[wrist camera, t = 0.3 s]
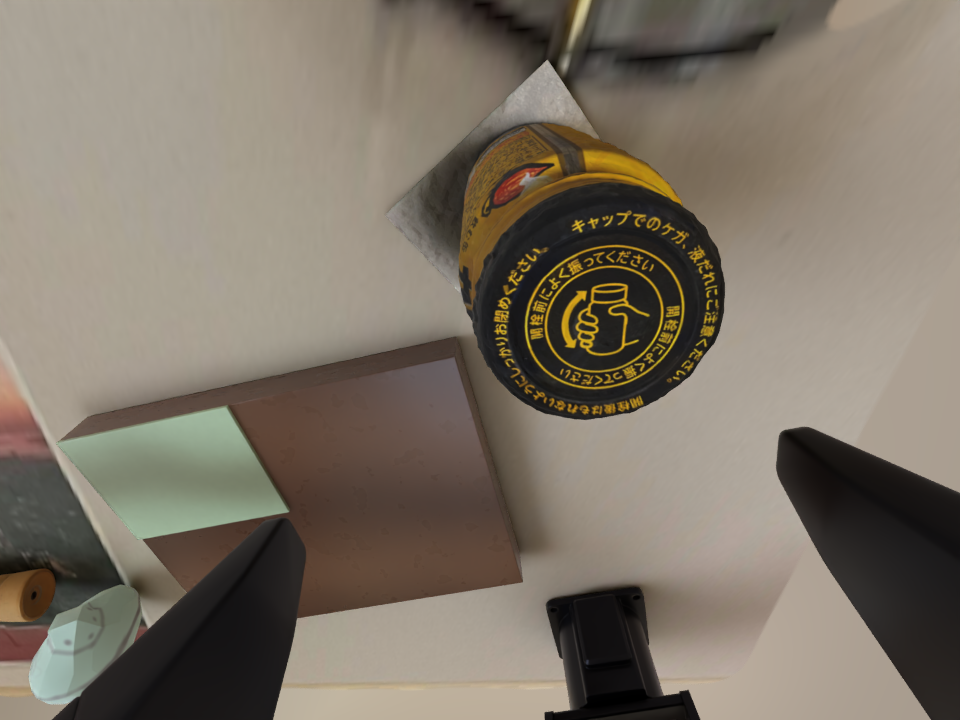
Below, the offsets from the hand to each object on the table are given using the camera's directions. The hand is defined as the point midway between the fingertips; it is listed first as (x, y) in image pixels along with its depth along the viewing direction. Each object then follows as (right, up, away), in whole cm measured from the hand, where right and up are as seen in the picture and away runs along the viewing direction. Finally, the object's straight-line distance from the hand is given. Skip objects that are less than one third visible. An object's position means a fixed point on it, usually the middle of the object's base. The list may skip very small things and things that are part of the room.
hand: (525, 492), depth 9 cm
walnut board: (-10, -5, +19) cm, 22 cm away
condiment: (+1, +9, +12) cm, 15 cm away
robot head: (-24, -13, +24) cm, 36 cm away
